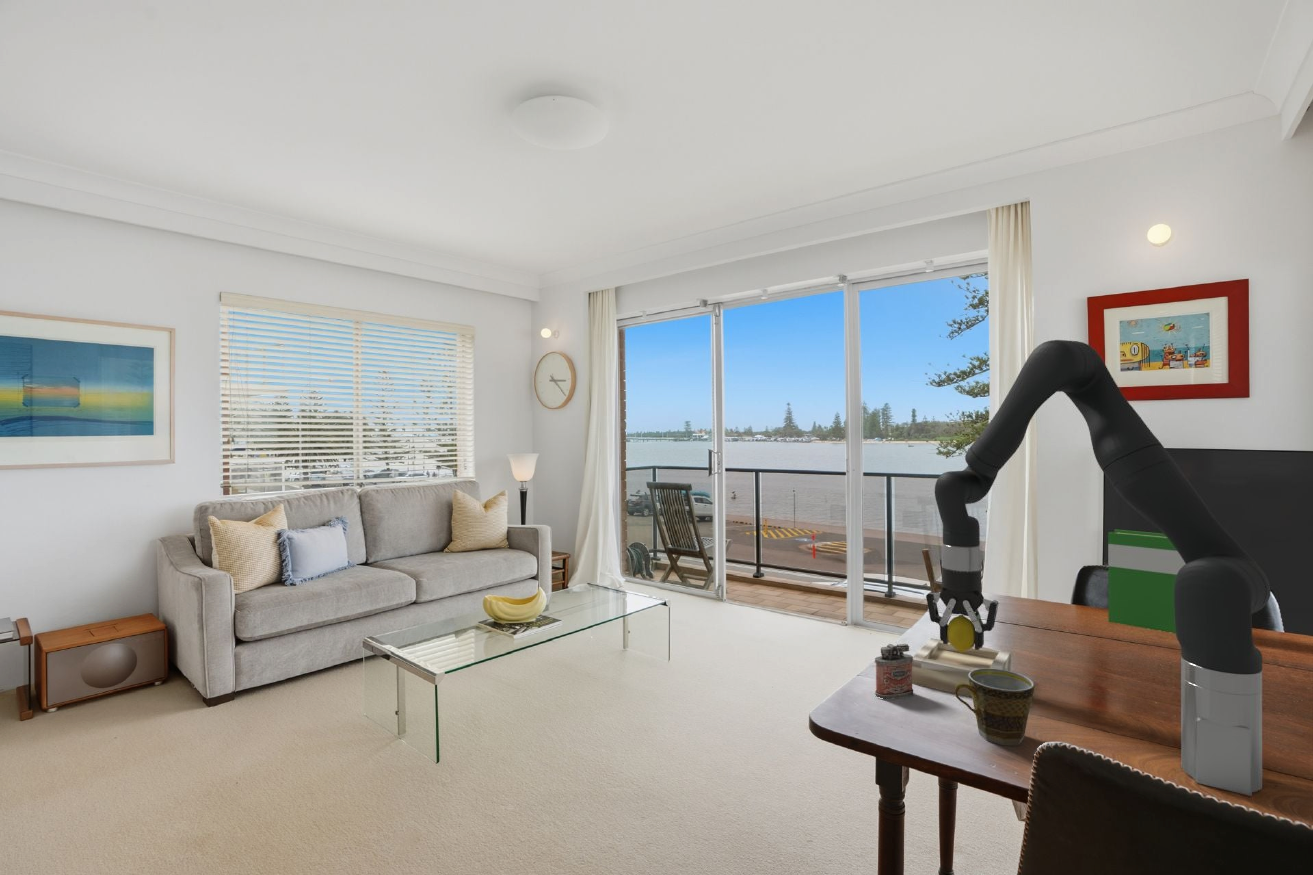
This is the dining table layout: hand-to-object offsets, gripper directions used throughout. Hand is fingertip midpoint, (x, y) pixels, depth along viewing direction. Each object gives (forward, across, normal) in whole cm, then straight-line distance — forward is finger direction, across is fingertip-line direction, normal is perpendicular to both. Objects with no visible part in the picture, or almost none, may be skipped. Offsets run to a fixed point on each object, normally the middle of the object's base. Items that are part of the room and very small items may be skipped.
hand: (961, 645), depth 136 cm
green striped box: (+7, +32, +67) cm, 75 cm away
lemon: (+2, 0, 0) cm, 2 cm away
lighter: (+7, -9, -16) cm, 20 cm away
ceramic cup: (+7, +10, -24) cm, 27 cm away
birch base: (+8, 0, 0) cm, 8 cm away
